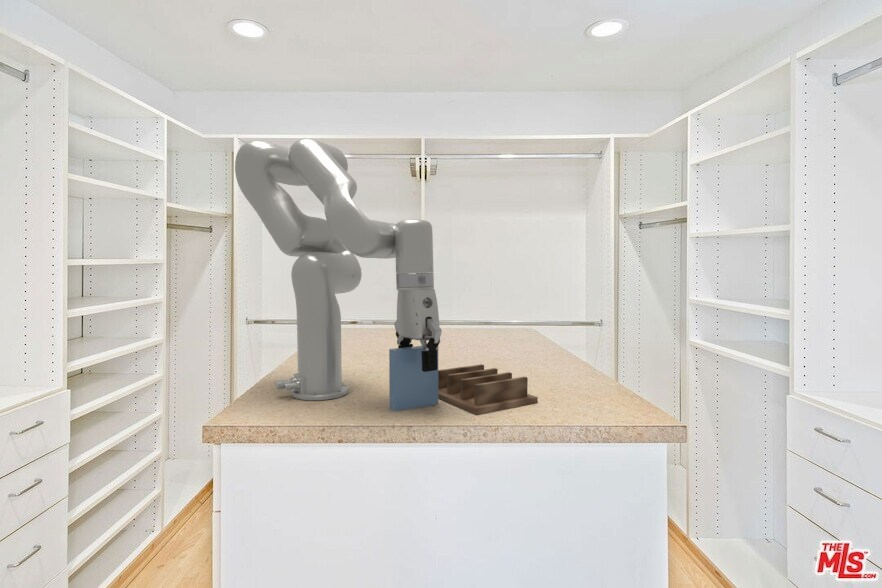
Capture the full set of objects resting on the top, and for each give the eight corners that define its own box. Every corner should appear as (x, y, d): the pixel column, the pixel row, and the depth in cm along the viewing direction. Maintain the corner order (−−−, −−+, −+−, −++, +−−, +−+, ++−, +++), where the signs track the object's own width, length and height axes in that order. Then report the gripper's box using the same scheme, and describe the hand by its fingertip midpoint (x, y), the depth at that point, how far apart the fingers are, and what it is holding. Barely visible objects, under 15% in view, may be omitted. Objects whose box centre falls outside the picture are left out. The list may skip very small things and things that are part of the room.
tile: (394, 411, 96) (394, 350, 96) (389, 408, 98) (389, 349, 98) (438, 403, 102) (438, 346, 101) (432, 401, 104) (432, 344, 103)
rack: (475, 414, 94) (475, 388, 94) (425, 393, 110) (425, 370, 110) (537, 402, 103) (537, 378, 102) (482, 383, 119) (482, 362, 118)
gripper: (454, 281, 93) (456, 371, 94) (410, 281, 108) (413, 359, 109) (420, 283, 89) (422, 376, 90) (379, 282, 104) (382, 363, 105)
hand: (417, 367), depth 99 cm, fingers open, 9 cm apart
